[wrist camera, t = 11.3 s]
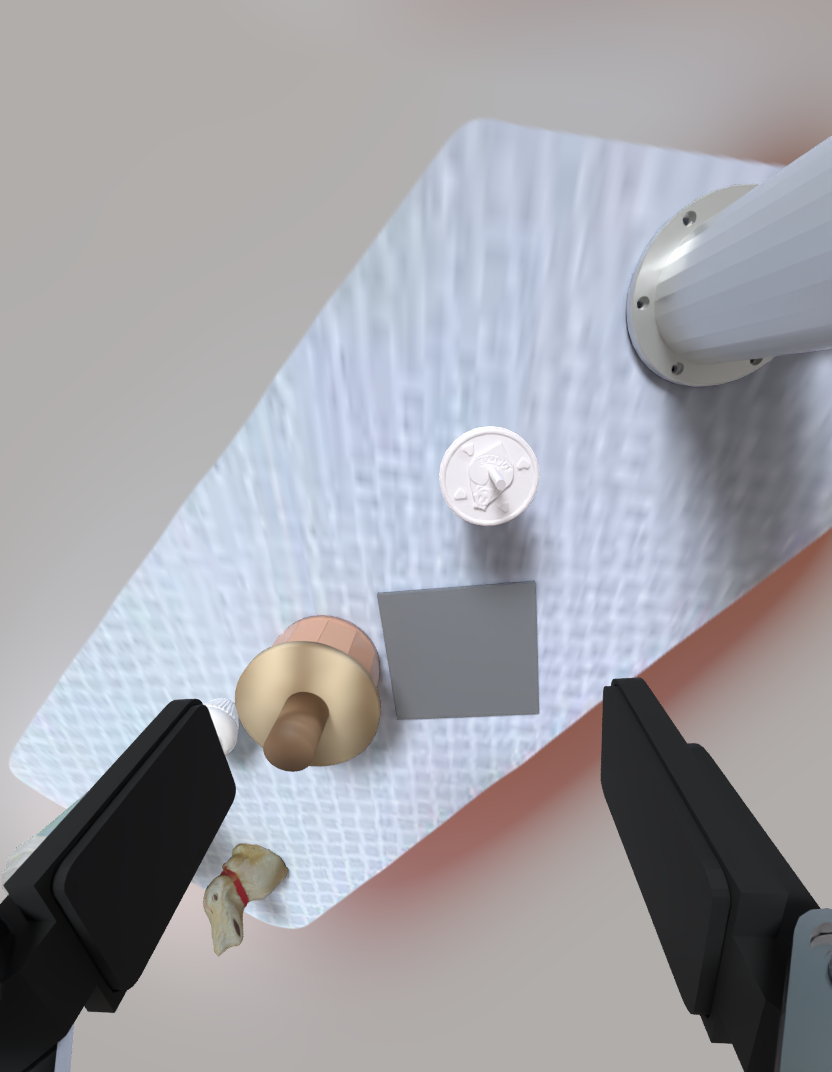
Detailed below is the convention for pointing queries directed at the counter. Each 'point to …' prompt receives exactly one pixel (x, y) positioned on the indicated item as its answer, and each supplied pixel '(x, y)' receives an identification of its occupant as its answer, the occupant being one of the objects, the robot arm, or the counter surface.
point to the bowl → (336, 639)
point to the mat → (462, 650)
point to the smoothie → (489, 476)
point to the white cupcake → (224, 722)
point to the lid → (307, 705)
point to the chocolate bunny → (240, 891)
